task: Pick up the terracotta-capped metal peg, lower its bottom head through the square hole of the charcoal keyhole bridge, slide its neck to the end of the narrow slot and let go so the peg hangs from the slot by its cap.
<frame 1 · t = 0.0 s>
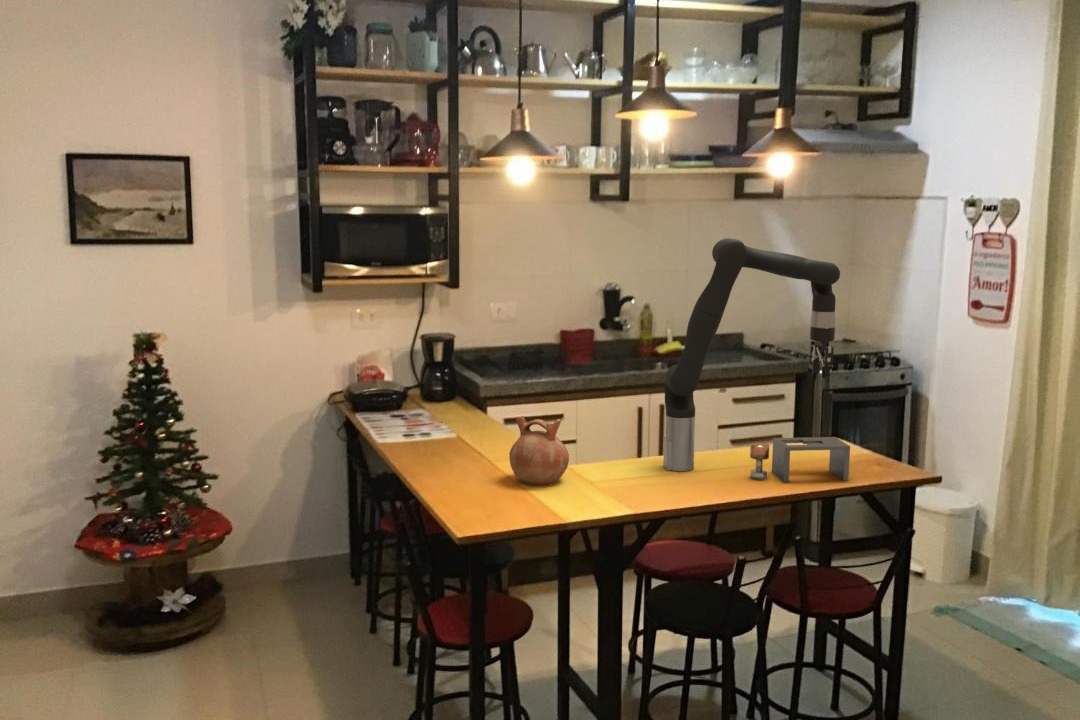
hand: (820, 375, 307), 29 cm above the table, fingers open, 8 cm apart
keyhole peg: (758, 477, 297), on the table
keyhole bridge: (809, 476, 298), on the table
jug: (539, 481, 295), on the table
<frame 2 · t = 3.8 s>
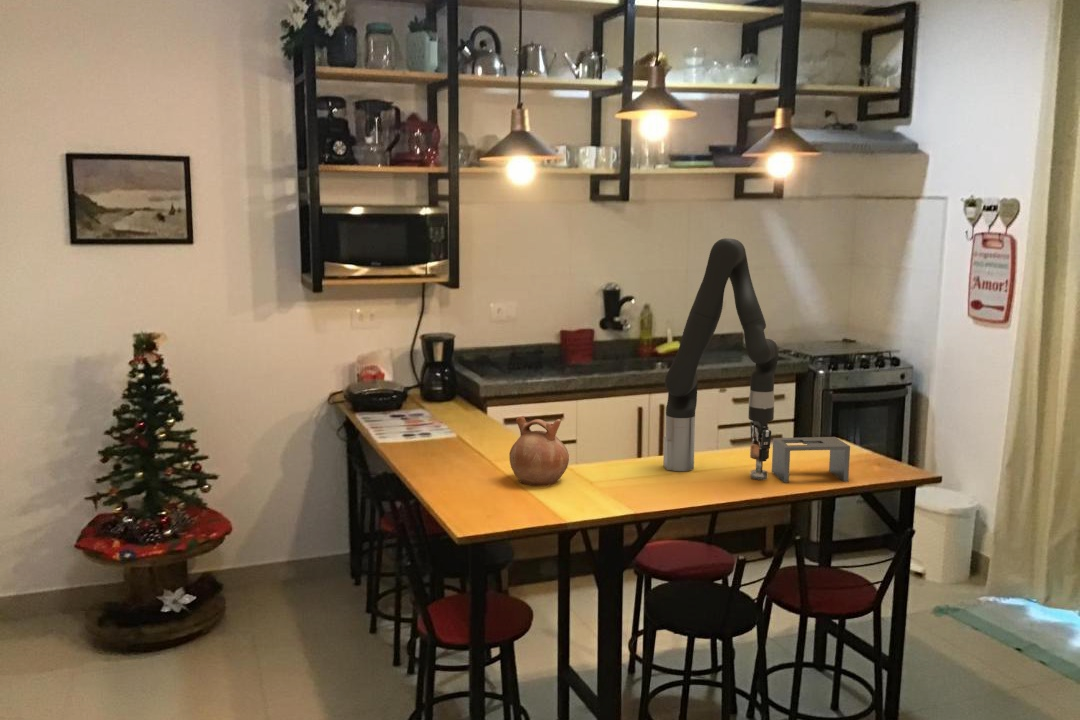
hand: (759, 458, 296), 6 cm above the table, fingers closed on keyhole peg, 5 cm apart
keyhole peg: (758, 477, 297), on the table, touching gripper
everything else where it was.
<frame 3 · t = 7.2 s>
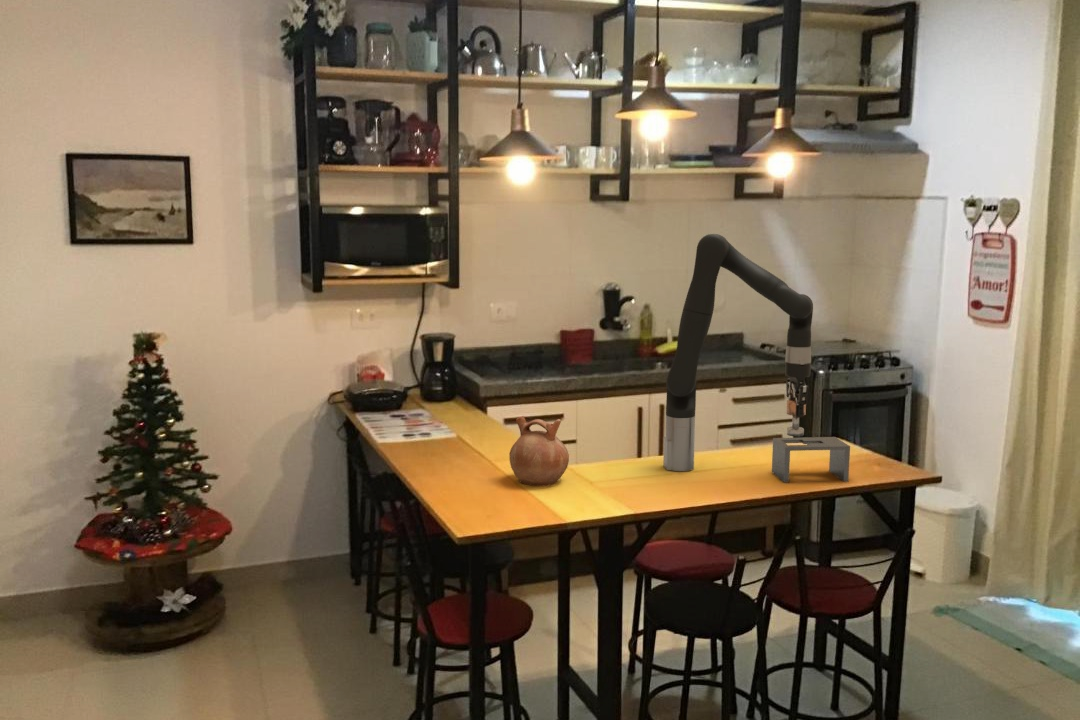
hand: (796, 414, 295), 20 cm above the table, fingers closed on keyhole peg, 5 cm apart
keyhole peg: (795, 434, 296), point 13 cm above the table, touching gripper
everything else where it was.
when the fingers open (13 cm above the table, at t = 10.9 s): keyhole peg drops 2 cm, resting on keyhole bridge.
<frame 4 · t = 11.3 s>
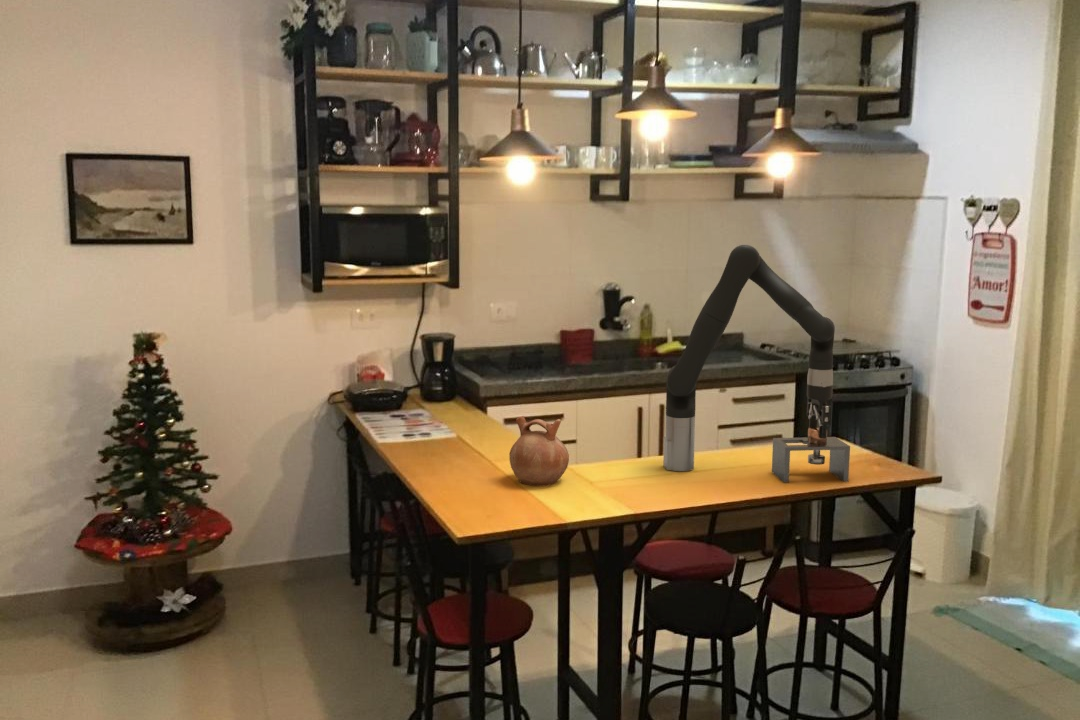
hand: (817, 434, 296), 13 cm above the table, fingers open, 8 cm apart
keyhole peg: (816, 462, 298), point 4 cm above the table, touching keyhole bridge
everything else where it was.
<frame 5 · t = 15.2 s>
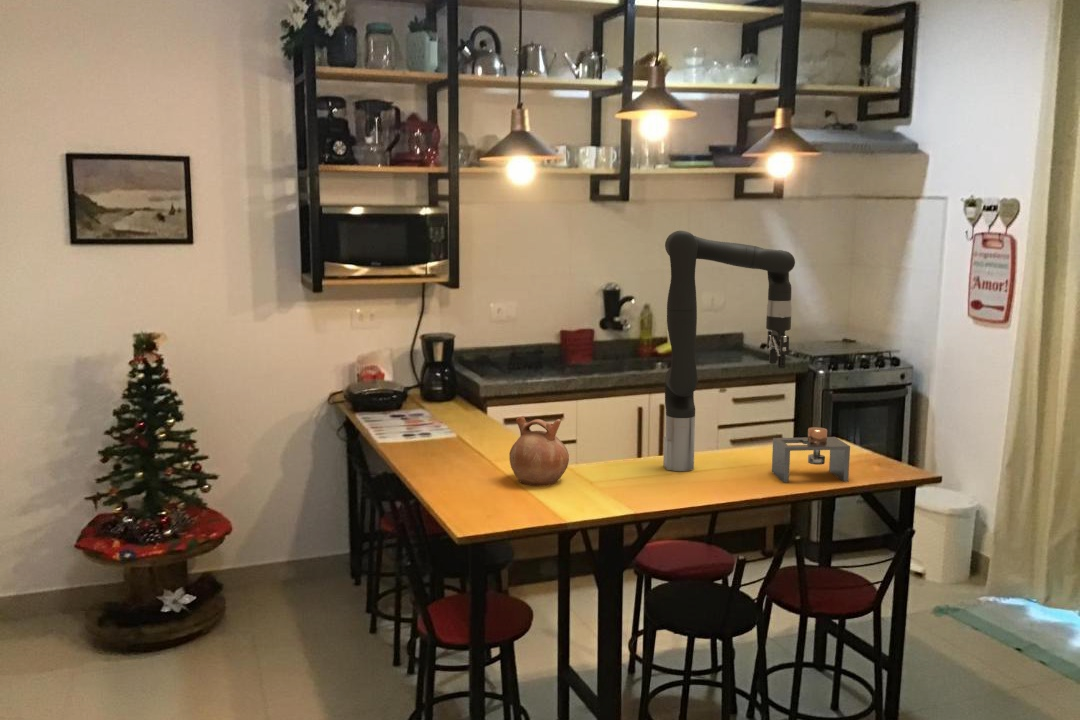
hand: (776, 365, 303), 33 cm above the table, fingers open, 8 cm apart
nothing on the table moved.
at the end: keyhole peg 0.1 cm from the target spot on the keyhole bridge, point 4.5 cm above the keyhole bridge's base; keyhole peg tilted 0°; keyhole peg touching keyhole bridge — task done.
